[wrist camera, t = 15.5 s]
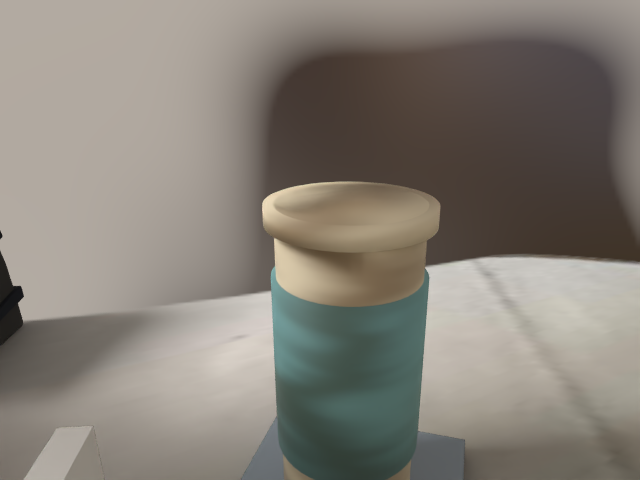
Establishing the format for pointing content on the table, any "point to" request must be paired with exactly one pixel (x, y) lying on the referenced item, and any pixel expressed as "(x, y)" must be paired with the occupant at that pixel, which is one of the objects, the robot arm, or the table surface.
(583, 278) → the table surface
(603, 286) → the table surface
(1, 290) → the magazine
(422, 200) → the disc
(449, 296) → the table surface
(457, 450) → the rubber mat
